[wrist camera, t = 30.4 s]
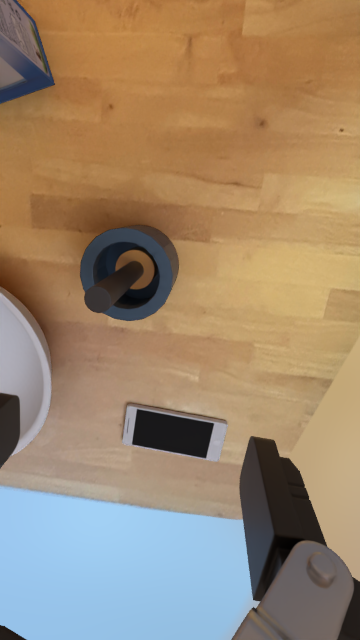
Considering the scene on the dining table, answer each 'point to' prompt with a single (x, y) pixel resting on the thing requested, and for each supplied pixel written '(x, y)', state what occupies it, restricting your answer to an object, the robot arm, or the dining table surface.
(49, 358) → the bowl
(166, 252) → the jar
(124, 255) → the plunger
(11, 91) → the milk carton
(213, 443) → the smartphone
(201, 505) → the dining table surface
